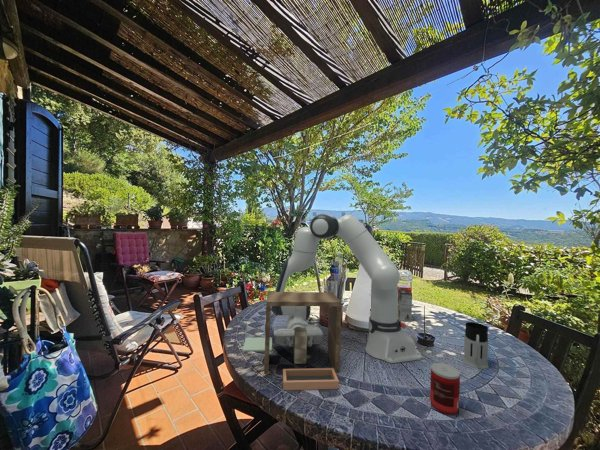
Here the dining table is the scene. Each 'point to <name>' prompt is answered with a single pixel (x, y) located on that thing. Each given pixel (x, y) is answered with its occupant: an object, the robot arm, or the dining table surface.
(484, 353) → the glass holder
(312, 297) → the walnut tunnel
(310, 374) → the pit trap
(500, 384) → the dining table surface
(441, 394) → the canned food
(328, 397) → the dining table surface
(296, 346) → the ash block
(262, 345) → the sage pad
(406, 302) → the coffee box
